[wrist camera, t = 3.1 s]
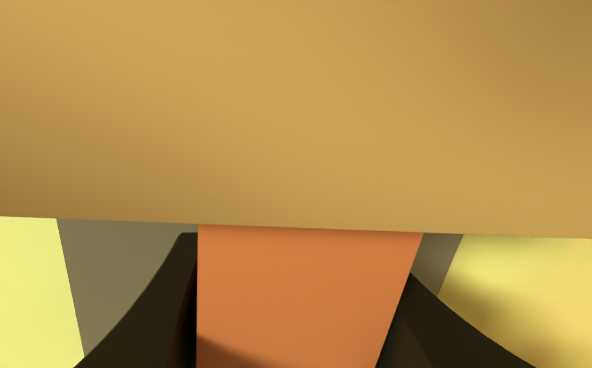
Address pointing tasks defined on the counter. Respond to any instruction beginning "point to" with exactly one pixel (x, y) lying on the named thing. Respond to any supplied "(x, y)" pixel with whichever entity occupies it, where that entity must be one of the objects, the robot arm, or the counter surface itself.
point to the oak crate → (300, 113)
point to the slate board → (149, 257)
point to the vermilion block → (297, 295)
